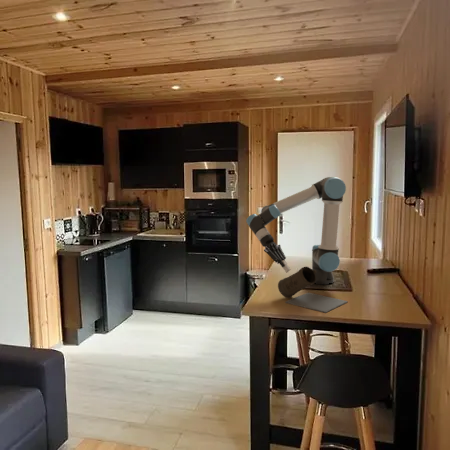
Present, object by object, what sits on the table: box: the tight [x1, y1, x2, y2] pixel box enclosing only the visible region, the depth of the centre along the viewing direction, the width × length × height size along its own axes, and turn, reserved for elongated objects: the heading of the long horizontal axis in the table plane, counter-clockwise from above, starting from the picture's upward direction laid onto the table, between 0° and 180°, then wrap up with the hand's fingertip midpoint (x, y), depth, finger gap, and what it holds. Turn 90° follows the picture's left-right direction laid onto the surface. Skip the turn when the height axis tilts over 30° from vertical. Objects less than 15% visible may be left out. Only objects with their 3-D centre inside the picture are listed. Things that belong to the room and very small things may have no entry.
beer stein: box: [277, 266, 317, 299], centre depth 225 cm, size 15×11×20 cm
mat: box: [285, 291, 348, 314], centre depth 220 cm, size 24×22×1 cm
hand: (288, 271), depth 230 cm, fingers closed
